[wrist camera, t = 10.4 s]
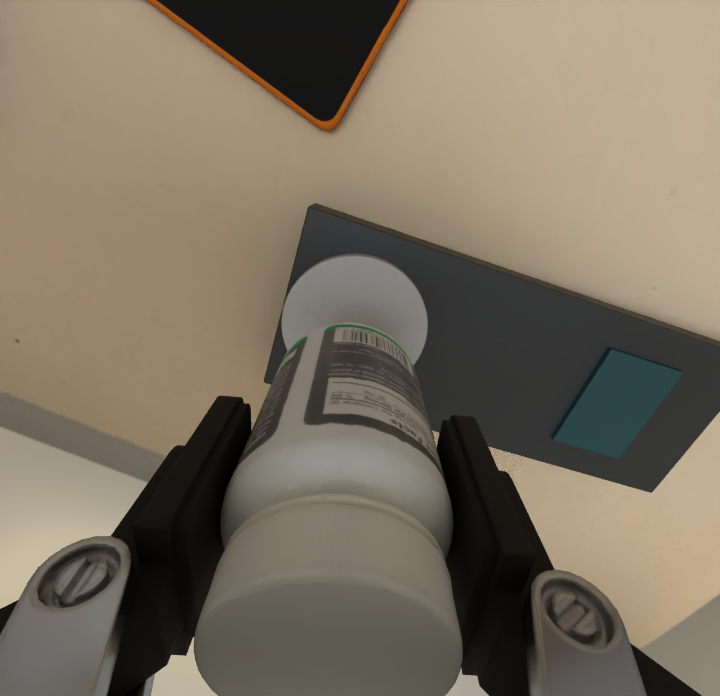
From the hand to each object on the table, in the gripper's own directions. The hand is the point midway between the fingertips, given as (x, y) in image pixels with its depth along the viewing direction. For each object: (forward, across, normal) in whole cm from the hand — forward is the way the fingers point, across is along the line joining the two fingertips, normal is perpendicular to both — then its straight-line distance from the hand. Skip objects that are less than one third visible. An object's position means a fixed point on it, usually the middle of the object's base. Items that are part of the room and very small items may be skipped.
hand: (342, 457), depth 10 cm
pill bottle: (+4, 0, 0) cm, 4 cm away
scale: (+12, -8, +2) cm, 14 cm away
